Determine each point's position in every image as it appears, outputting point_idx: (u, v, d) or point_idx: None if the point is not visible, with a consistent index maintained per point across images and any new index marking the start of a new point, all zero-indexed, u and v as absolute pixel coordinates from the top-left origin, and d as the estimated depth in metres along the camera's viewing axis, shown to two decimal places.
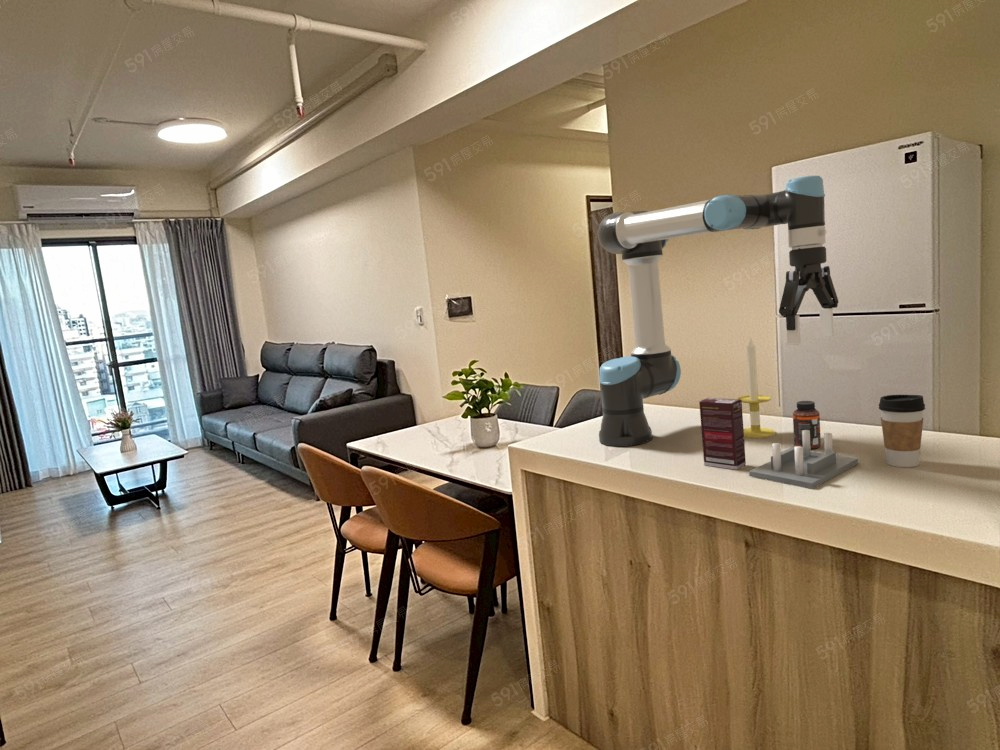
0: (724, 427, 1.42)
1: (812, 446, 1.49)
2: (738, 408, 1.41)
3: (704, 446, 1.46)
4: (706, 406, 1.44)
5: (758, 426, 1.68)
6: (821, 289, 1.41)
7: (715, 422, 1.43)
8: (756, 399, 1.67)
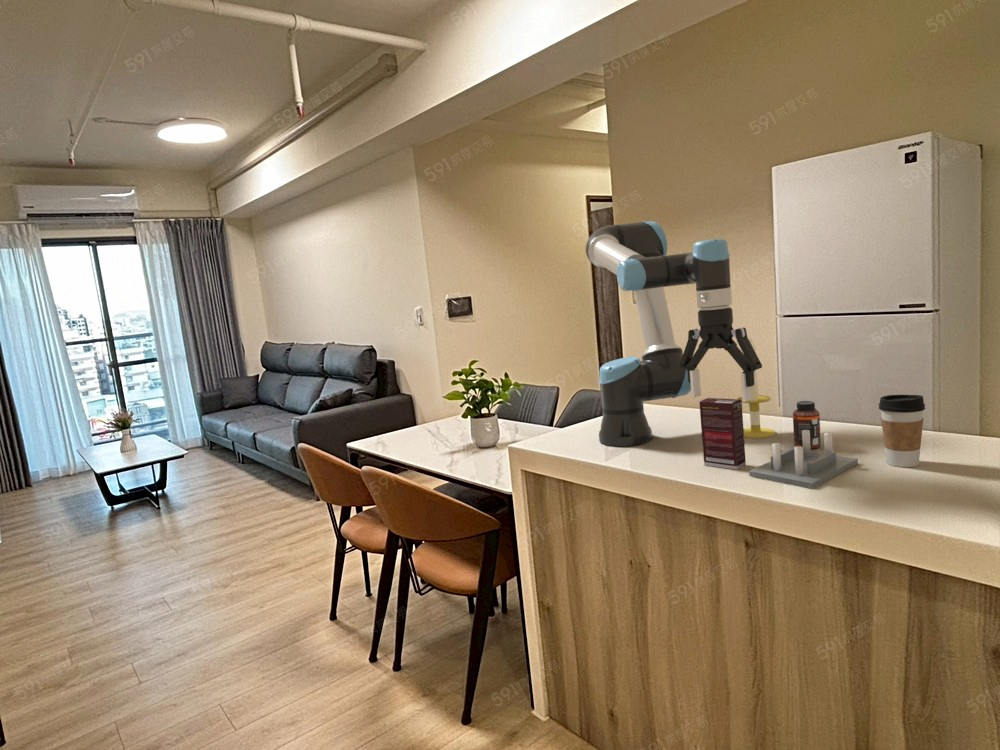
0: (724, 427, 1.42)
1: (812, 446, 1.49)
2: (739, 408, 1.41)
3: (704, 446, 1.46)
4: (706, 406, 1.44)
5: (758, 426, 1.68)
6: None
7: (715, 422, 1.43)
8: (756, 399, 1.67)
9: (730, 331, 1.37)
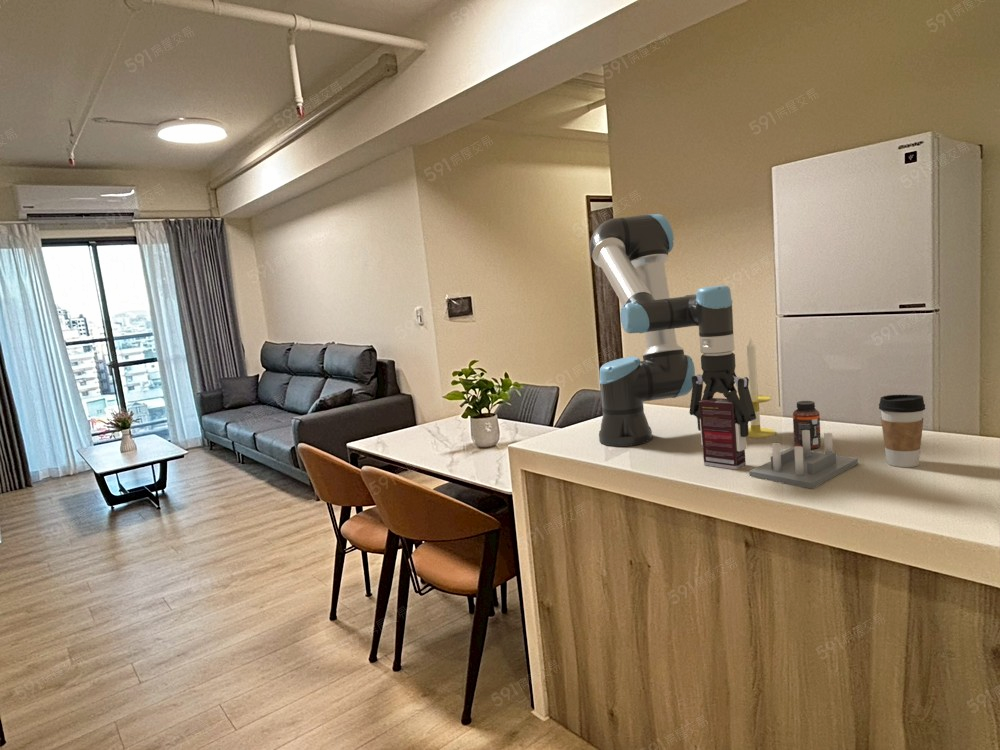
0: (724, 427, 1.42)
1: (812, 446, 1.49)
2: None
3: (703, 446, 1.46)
4: (706, 406, 1.44)
5: (758, 426, 1.68)
6: None
7: (715, 422, 1.43)
8: (756, 399, 1.67)
9: (733, 378, 1.39)
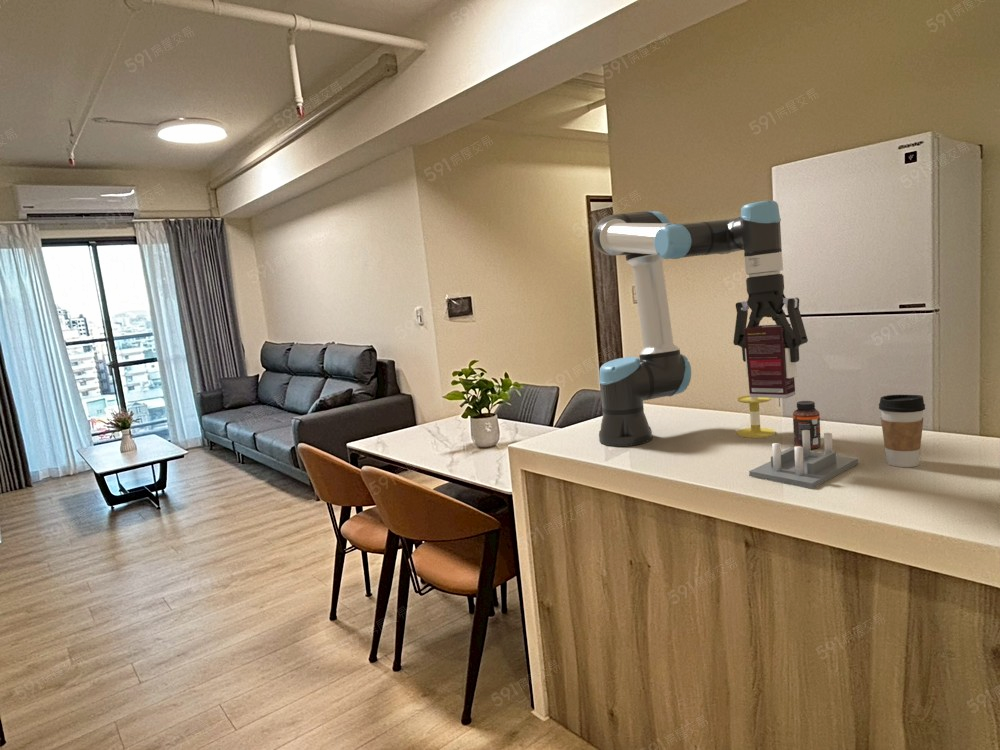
0: (772, 353, 1.32)
1: (812, 446, 1.49)
2: None
3: (749, 377, 1.37)
4: (752, 333, 1.35)
5: (758, 426, 1.68)
6: None
7: (762, 349, 1.34)
8: (756, 399, 1.67)
9: (782, 299, 1.30)
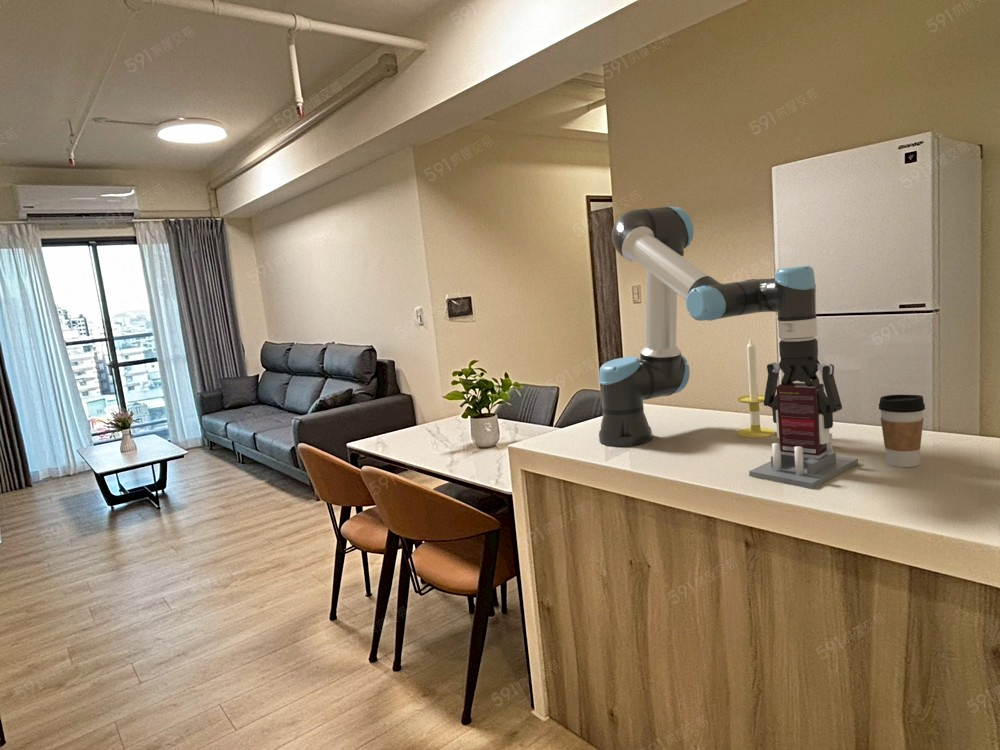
0: (805, 413, 1.31)
1: None
2: None
3: (780, 435, 1.36)
4: (785, 391, 1.34)
5: (758, 426, 1.68)
6: None
7: (794, 408, 1.33)
8: (756, 399, 1.67)
9: (816, 365, 1.29)
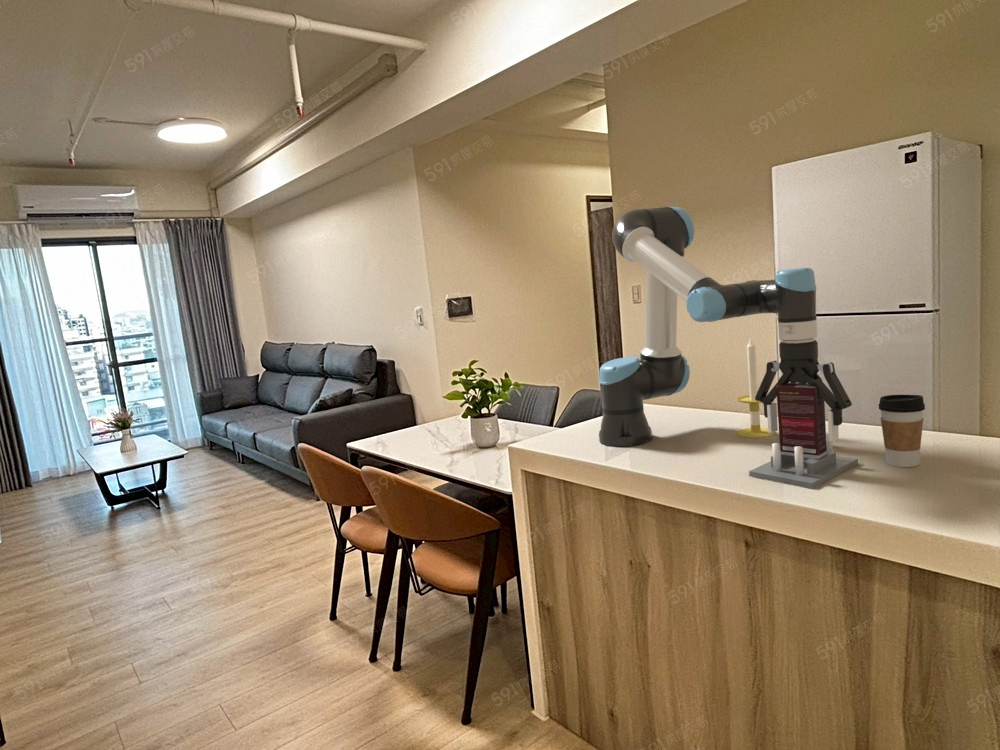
0: (805, 413, 1.31)
1: None
2: None
3: (780, 435, 1.36)
4: (784, 391, 1.34)
5: (758, 426, 1.68)
6: None
7: (794, 408, 1.33)
8: None
9: (816, 366, 1.29)
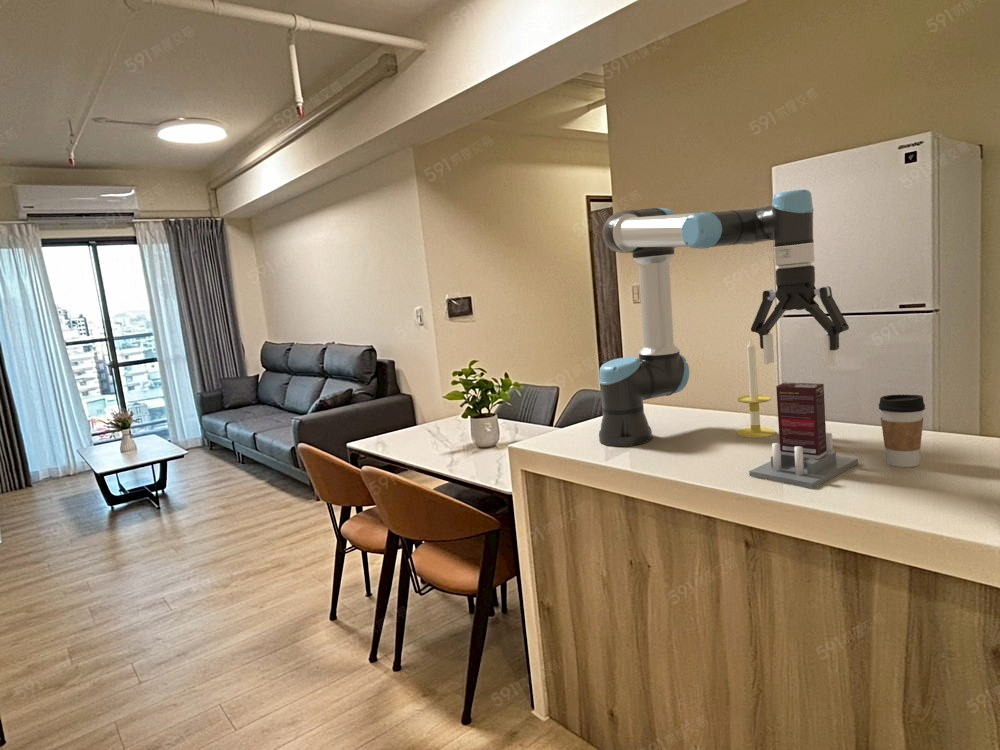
0: (805, 413, 1.31)
1: None
2: (821, 393, 1.31)
3: (780, 435, 1.36)
4: (784, 391, 1.34)
5: (758, 426, 1.68)
6: None
7: (794, 408, 1.33)
8: (756, 399, 1.67)
9: (813, 290, 1.27)
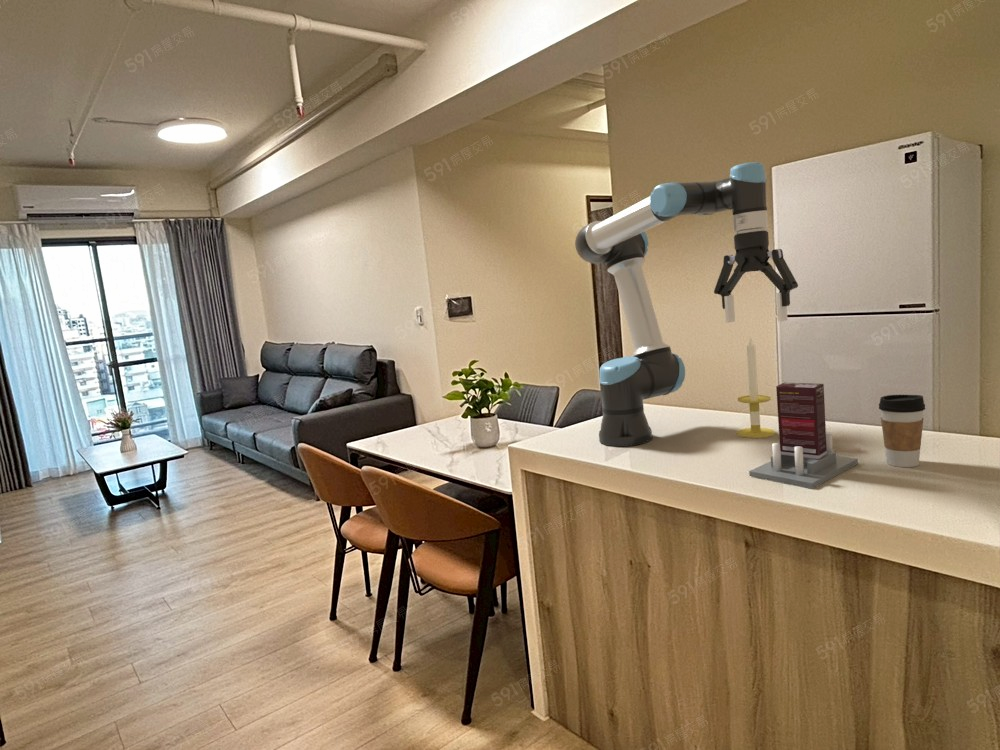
0: (805, 413, 1.31)
1: None
2: (821, 393, 1.31)
3: (780, 435, 1.36)
4: (784, 391, 1.34)
5: (758, 426, 1.68)
6: None
7: (794, 408, 1.33)
8: (756, 399, 1.67)
9: (766, 253, 1.41)
